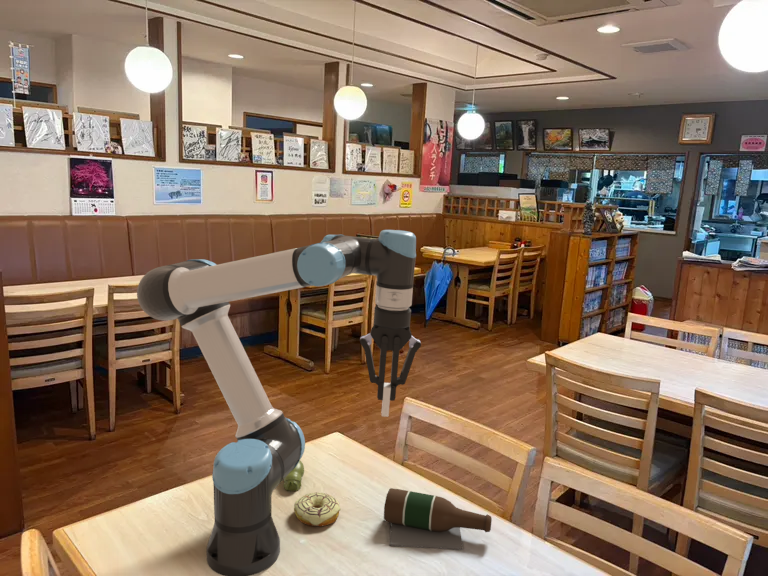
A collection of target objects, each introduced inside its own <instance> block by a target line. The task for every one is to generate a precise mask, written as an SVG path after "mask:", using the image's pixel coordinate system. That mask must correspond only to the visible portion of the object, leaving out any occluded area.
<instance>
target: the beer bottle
mask: <svg viewBox="0 0 768 576" xmlns="http://www.w3.org/2000/svg"><path fill="white" fill-rule="evenodd" d="M384 501H385V502H384V506H383V519H384V521H386V522H387V523H389V524H391V523H393V524H397V525H402V526H407V527H412V528H418V529H423V530H428V531H434V532H444V531H448V530H450V529H452V528H460V529H462V528H463V529H470V530H471V529H472V530H479V531H484V532H485V533H490V532H491V531H492V529H491V528H492V521H493V520H492V518H493V517H492V516H491V515H490V514H486V515H485V514H480V513H476V512H473V511H468V510H465V509H462V508H459V507H456V506H455V505H454V504H453V503H452V502H451V501H449V500H448V499H446V498H445V497H442V496H438V495H432V494H427V493H421V492H416V491H412V490H411V491H410V490H404V489H401V488H400V489H399V488H391V487H390V488H389V489H388V492H387V493H386V496H385V500H384Z"/></svg>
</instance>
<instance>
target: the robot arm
mask: <svg viewBox="0 0 768 576" xmlns="http://www.w3.org/2000/svg"><path fill="white" fill-rule="evenodd" d="M322 238H323V239H322V240H321V241H320V242H317V243H312V244H310V245H305V246H300V247H296V248H291V249H286V250H280V251H275V252H272V253H268V254H263V255H258V256H257V255H256V256H253V257H247V258H244V259H242V258H241V259H239V260H233V261H228V262H224V263H219V264H217V263H215V262H213V261H211V260H207V259H204V258H203V259H199V258H198V259H187V260H184V261H180V262H176V263H172V264H168V265H161V266H158V267H156V268H153V269H151V270H149V271H147V273H145V274H144V275H143V276H142V277H141V279H140V281H139V282H138V285H137V288H136V289H137V290H136V297H137V302H138V304H139V306H140V308H141V310H143V312H144V313H145V314H146V315H147V316H149V317H150V318H153V319H155V320H158V321H165V322H166V321H168V322H169V321H172V320H173V321H174V320H178V323H179V324H180V326H181V328H182V329H184V330H187V331H190V332H191V333H192V335H193V337H194V339H195V341H196V342H197V345H198V347H199V349H200V351H201V353H202V355H203V357H204V360H205V361H206V363H207V365H208V368H209V369H210V371H211V373H212V376H213V377H214V380H215V381H216V383H217V385H218V387H219V390H220V391H221V393H222V396H223V398H224V400H225V401H226V404H227V405H228V408H229V411H230V412H231V414H232V417H233V418H234V420H235V422H236V424H237V430H236V432H235V435H234V436H235V438H236V442H234V441H233V442H230V443H227V444H226V445H224V446H223V447H222V448H221V449H220V450H219V451H218V452H217V454H216V455H215V457H214V460H213V469H212V475H211V477H212V482H213V485H212V486H213V508H214V510H213V511H214V513H213V514H214V524H213V527H212V528H211V529H212V530H211V534H210V536H209V538H208V542H207V546H206V562H207V565H208V567H209V568H210V569H211V570H212V571H213V572H215V573H216V574H217V575H221V576H253V575H256V574H259V573H261V572H263V571H265V570H267V569H269V568H271V566H272V565H273V564H274V563H275V562H276V561H277V559H278V558H279V556H280V553H281V539H280V535H279V532H278V529H277V528H276V524H275V522H274V519H273V516H272V515H273V514H272V505H273V504H272V503H273V502H272V495H273V492H274V491H275V489H277V487H278V486H279V485H280V484H281V483H282V481H284V478H285V477H286V476H287V475H288V474H289V473H290V472H291V471H292V470H293V469H294V468H295V467H296V466H297V464H298V463H299V460H300V461H301V460H302V457H303V455H304V453H305V449H306V441H305V440H306V439H305V435H304V432H303V430H302V429H301V427H300V426H299V425H298V424H297V422H295V421H292V420H291V419H290V418H287V417H285V415H284V412H283V411H282V410H280V409H277V408H274V407H273V405H272V404H271V402H270V400H269V397H268V395H267V393H266V391H265V389H264V387H263V385H262V383H261V381H260V378H259V377H258V375H257V372H256V371H255V368H254V366H253V365H252V362H251V360H250V358H249V356H248V354H247V352H246V350H245V348H244V346H243V343H242V342H241V340H240V338H239V335H238V334H237V332H236V330H235V328H234V326H233V324H232V322H231V320H230V317H229V311H230V307H231V303H230V302H233V301H239V300H244V299H249V298H255V297H260V296H266V295H272V294H274V293H275V294H276V293H280V292H281V293H282V292H285V291H291V290H297V289H301V288H307V287H325V286H328V285H331V284H334V283H336V282H337V281H339V280H340V279H342V278H345V277H347V276H349V275H351V274H357V275H365V276H366V275H367V276H374V277H376V282H375V283H376V284H375V296H374V297H375V298H374V303H375V304H376V306H374V310H373V311H374V313H373V326H372V327H371V329H370V332H369V333H367V334H366V335H361V336H360V337H359V342H360V343H359V344H360V345H361V347H362V348H363V350H364V355H365V360H366V367H367V371H368V377H369V381H370V382H369V383H371V384H376V385H377V396H376V397H377V400H378V401H381V402H382V403H381V417H387V418H388V417H389V415H390V404H391V403H390V402H391V401H392V402H393V401H395V400H396V395H397V387H398V386H400V385H402V386H403V385H405V384H406V381H407V379H408V376H409V374H410V370H411V367H412V364H413V360H414V358H415V356H416V354H417V352H418V351H419V350H420V348H421V346H422V343H421V340H420V339H419V338H415V336H413V335H412V331H411V315H412V309H411V308H410V307H412V304H413V290H414V289H413V288H414V279H415V277H414V276H415V266H416V259H417V251H416V249H417V237H416V235H415V233H413V232H411V231H407V230H401V229H396V230H395V229H383V230H381V231H380V232H379V236H378V238H368V237H360V236H351V235H344V234H327V235H324V237H322ZM372 340H374V343H375V344H376V345H377V347H378V349H380V351H379V353H380V354H379V368H378V375H377V374H376V371H375V370H376V369H375V365H374V364H375V363H374V358H373V353H372V348H371V347H372V346H371V345H372V343H373V342H372ZM407 344H408V346H409V348H408V350H407V354H406V356H405V360H404V363H403V365H402V368H401V371H400V374H399V376H398V371H399V357H400V351H401V350H402V349H403V347H405V346H406V345H407ZM388 351H391V352H392V357H391V368H390V369H391V370H390V382H385V377H386V366H387V365H386V364H387V352H388Z"/></svg>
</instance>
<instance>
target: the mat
mask: <svg viewBox="0 0 768 576" xmlns="http://www.w3.org/2000/svg"><path fill="white" fill-rule="evenodd" d="M389 533H390V536H389V537H390V538H389V546H390V547H405V548H406V547H409V548H426V549H427V548H428V549H444V550H445V549H448V550H462V551H463V549H464V547H463V546H464V544H463V541H462V532H461V528H452V529H450V530H448V531H444V532H434V531H428V530H423V529H418V528H412V527H407V526H402V525H397V524H393V523H390V532H389Z"/></svg>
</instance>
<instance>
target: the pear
mask: <svg viewBox="0 0 768 576" xmlns="http://www.w3.org/2000/svg"><path fill="white" fill-rule="evenodd" d="M304 474H305V466H304V463H303V461H301V459H300V460H299V463H298V464H297V466H296V467H295V468H294V469H293V470H292V471H291V472H290V473H289V474H288V475H287V476H286V477H285V478H284V479H283V488H284V490H285V491H290V492H291V491H292V492H293V491H294V492H295V491H299V490H300V489H301V488H302V479H303V476H304Z"/></svg>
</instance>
